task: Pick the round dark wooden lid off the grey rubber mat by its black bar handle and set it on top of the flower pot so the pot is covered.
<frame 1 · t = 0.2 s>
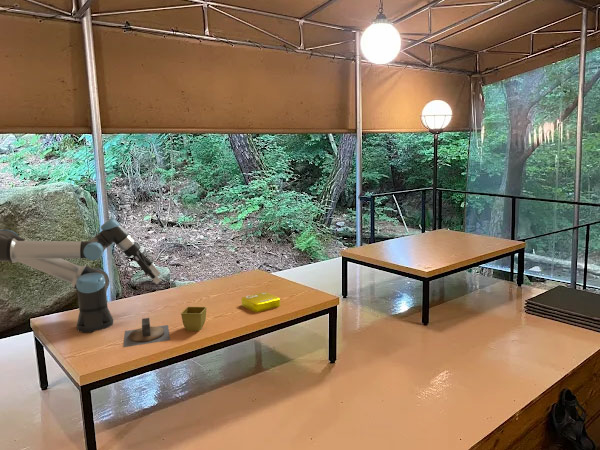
hand: (158, 278, 232), 15 cm above the table, tool tilted 35°, fingers open, 13 cm apart
element tile: (261, 306, 235), on the table
lid: (146, 335, 200), point 1 cm above the table, touching mat
flower pot: (195, 330, 206), on the table
mat: (147, 336, 200), on the table
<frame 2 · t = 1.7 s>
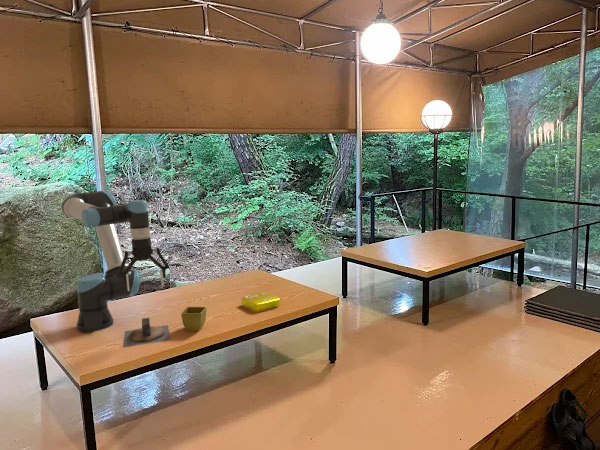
hand: (145, 288, 198), 21 cm above the table, tool pointing down, fingers open, 13 cm apart
nothing on the table moved.
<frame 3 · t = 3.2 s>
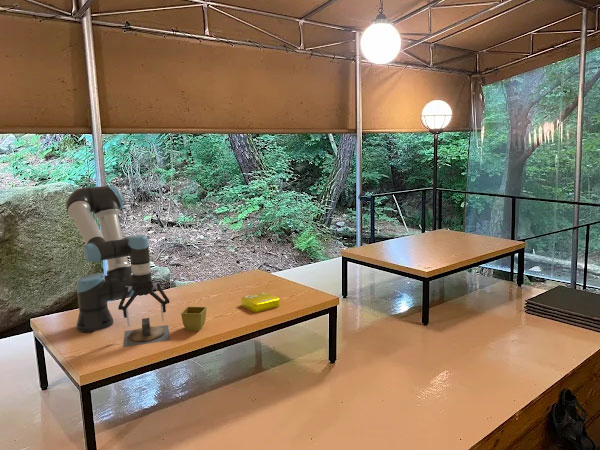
hand: (146, 322, 198), 6 cm above the table, tool pointing down, fingers open, 13 cm apart
nothing on the table moved.
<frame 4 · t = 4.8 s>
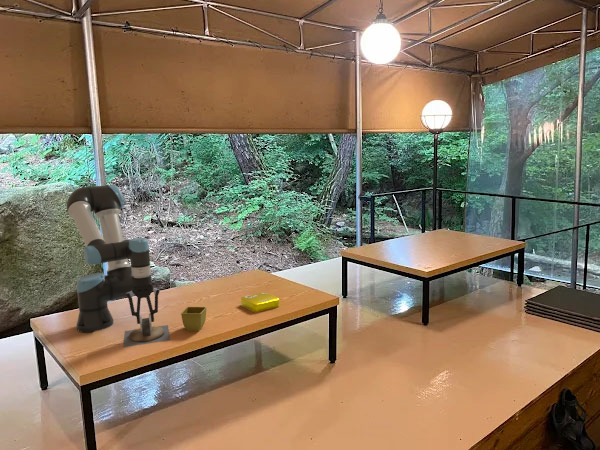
hand: (146, 329, 199), 3 cm above the table, tool pointing down, fingers closed on lid, 3 cm apart
lid: (146, 335, 200), point 1 cm above the table, touching gripper
everything else where it was.
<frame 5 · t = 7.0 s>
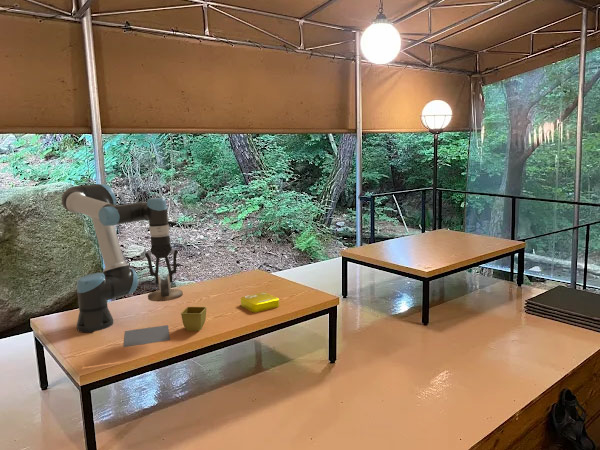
hand: (165, 290, 198), 19 cm above the table, tool pointing down, fingers closed on lid, 3 cm apart
lid: (165, 296, 199), point 17 cm above the table, touching gripper
everything else where it was.
when the fingers open (13 cm above the table, at t = 9.2 s): lid drops 2 cm, resting on flower pot.
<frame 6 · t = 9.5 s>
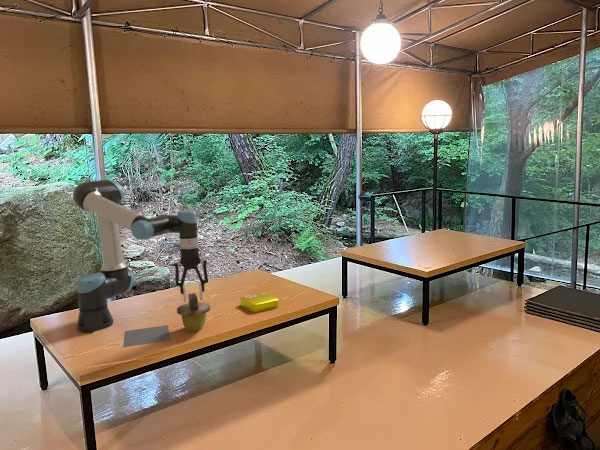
hand: (193, 299, 203), 13 cm above the table, tool pointing down, fingers open, 6 cm apart
lid: (193, 310, 204), point 9 cm above the table, touching flower pot
flower pot: (195, 330, 206), on the table, touching lid
everything else where it was.
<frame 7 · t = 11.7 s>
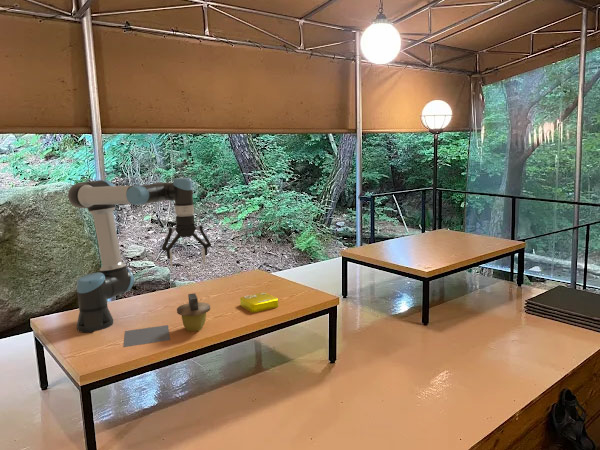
hand: (188, 264, 202), 29 cm above the table, tool pointing down, fingers open, 13 cm apart
nothing on the table moved.
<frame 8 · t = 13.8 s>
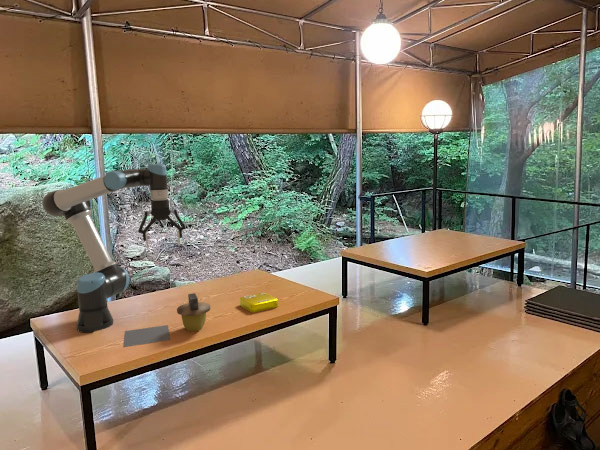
hand: (163, 246, 212), 35 cm above the table, tool pointing down, fingers open, 13 cm apart
at the end: lid 0.1 cm from the flower pot (horizontally); lid point 8.9 cm above the table; flower pot tilted 0° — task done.
